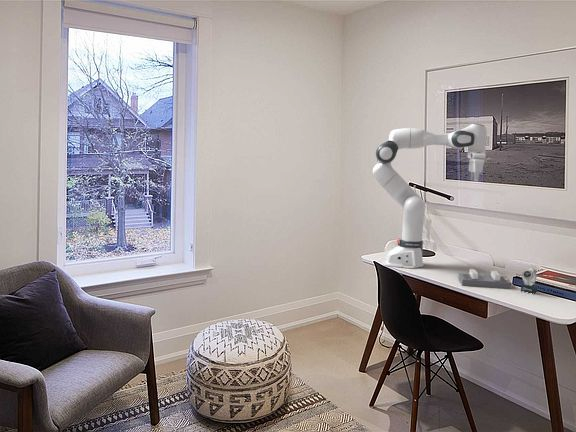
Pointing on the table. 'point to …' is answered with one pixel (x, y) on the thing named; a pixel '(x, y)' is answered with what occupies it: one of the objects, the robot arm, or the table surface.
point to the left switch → (473, 274)
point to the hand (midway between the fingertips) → (474, 180)
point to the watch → (529, 281)
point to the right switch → (495, 275)
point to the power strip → (484, 281)
